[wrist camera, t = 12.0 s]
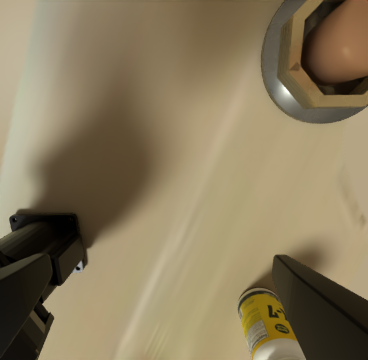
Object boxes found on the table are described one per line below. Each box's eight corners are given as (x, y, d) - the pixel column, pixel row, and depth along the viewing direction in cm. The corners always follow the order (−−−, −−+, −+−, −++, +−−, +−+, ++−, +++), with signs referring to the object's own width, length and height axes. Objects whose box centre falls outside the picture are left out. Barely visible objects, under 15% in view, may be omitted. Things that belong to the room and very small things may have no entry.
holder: (256, 124, 19) (267, 123, 16) (266, -24, 16) (281, -53, 13) (380, 122, 18) (411, 121, 16) (410, -27, 16) (453, -56, 13)
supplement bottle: (287, 300, 23) (344, 393, 15) (259, 327, 24) (298, 429, 16) (255, 278, 22) (295, 364, 14) (227, 307, 23) (250, 403, 15)
